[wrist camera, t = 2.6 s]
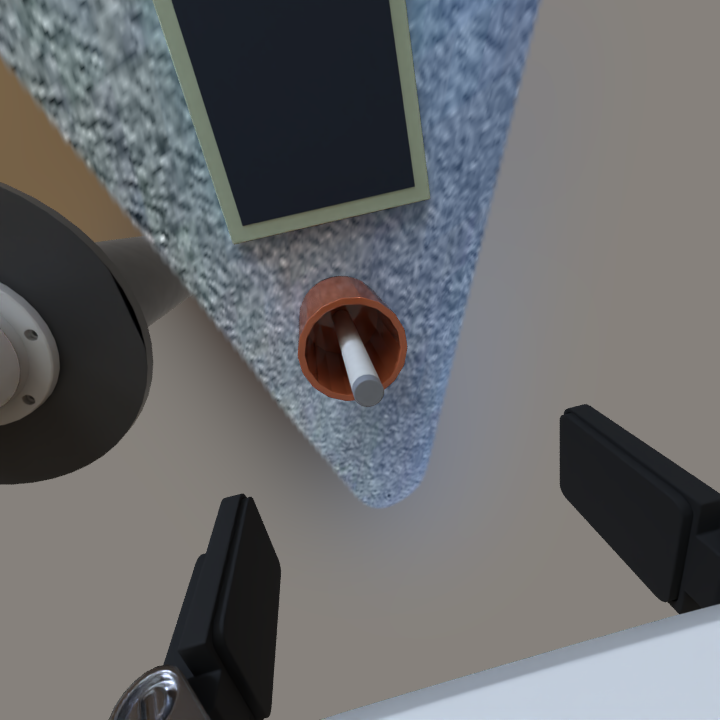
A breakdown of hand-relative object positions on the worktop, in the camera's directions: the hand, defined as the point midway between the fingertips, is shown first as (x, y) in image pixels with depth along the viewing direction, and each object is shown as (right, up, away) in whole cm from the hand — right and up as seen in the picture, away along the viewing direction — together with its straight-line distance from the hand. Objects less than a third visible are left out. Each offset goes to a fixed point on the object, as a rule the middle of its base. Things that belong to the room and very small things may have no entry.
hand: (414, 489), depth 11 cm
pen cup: (-3, +7, +18) cm, 20 cm away
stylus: (-3, +7, +18) cm, 19 cm away
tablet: (-5, +22, +12) cm, 26 cm away
